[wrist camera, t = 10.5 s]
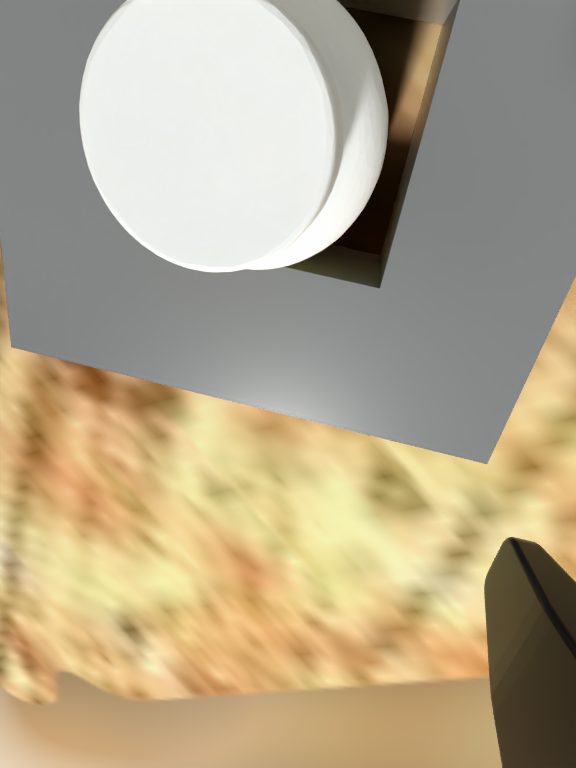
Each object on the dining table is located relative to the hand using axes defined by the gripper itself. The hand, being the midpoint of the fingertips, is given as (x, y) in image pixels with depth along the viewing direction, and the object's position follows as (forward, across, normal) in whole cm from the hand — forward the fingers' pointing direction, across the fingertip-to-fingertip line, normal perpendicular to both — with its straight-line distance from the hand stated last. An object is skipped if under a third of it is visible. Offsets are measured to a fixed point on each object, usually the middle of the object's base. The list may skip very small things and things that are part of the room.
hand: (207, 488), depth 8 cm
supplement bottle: (+12, +1, -5) cm, 13 cm away
